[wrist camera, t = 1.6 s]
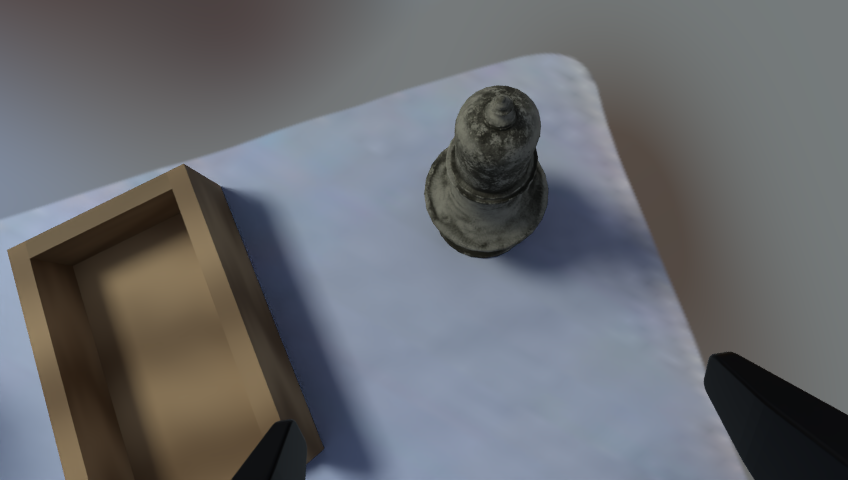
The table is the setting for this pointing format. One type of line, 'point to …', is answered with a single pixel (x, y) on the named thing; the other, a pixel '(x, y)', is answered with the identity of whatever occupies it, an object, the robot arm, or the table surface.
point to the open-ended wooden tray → (155, 337)
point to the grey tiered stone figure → (489, 175)
